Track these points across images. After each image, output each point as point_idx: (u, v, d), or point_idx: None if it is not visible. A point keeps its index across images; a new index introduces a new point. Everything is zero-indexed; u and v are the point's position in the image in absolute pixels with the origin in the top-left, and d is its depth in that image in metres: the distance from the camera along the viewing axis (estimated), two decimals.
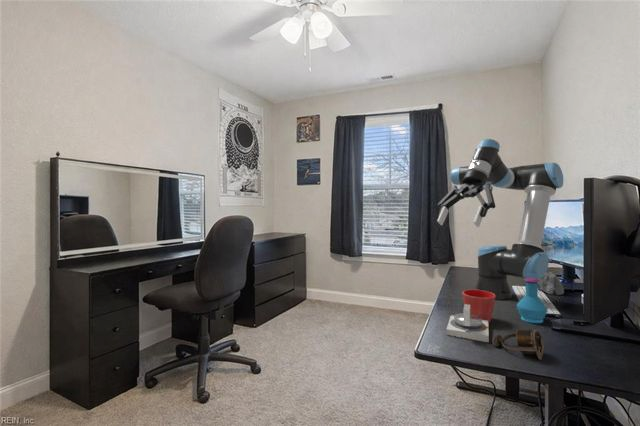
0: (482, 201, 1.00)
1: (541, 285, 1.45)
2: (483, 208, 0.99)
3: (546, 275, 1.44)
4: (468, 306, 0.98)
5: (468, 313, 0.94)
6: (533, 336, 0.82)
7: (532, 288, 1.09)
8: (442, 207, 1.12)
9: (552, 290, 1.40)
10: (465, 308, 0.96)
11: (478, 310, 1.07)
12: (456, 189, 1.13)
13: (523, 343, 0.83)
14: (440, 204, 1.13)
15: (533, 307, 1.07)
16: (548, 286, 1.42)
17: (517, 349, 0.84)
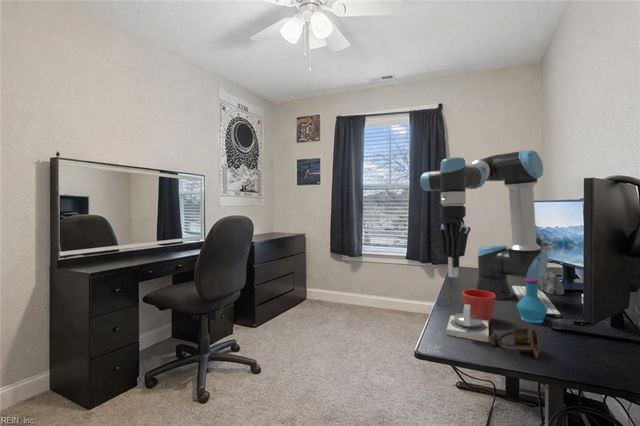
0: (453, 251, 0.98)
1: (541, 285, 1.45)
2: (454, 259, 0.98)
3: (546, 275, 1.44)
4: (468, 306, 0.98)
5: (468, 313, 0.94)
6: (530, 335, 0.83)
7: (532, 288, 1.09)
8: (448, 256, 1.01)
9: (552, 290, 1.40)
10: (465, 308, 0.96)
11: (478, 310, 1.07)
12: (442, 228, 1.03)
13: (520, 342, 0.84)
14: (445, 251, 1.02)
15: (533, 307, 1.07)
16: (548, 286, 1.42)
17: (514, 348, 0.85)
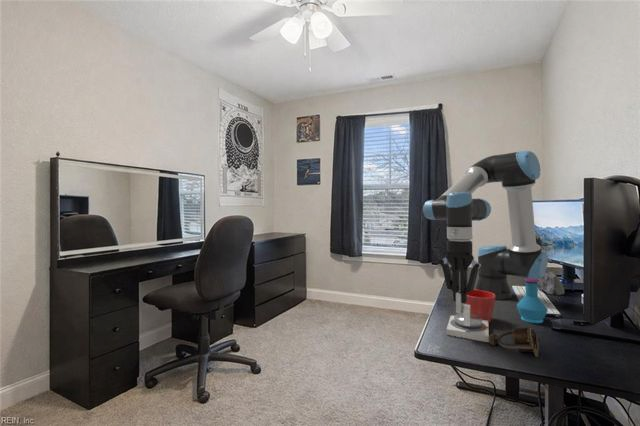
0: (462, 287, 0.96)
1: (541, 285, 1.45)
2: (462, 295, 0.97)
3: (547, 275, 1.44)
4: (468, 306, 0.98)
5: (468, 313, 0.94)
6: (530, 334, 0.84)
7: (532, 288, 1.09)
8: (454, 292, 0.99)
9: (552, 290, 1.40)
10: (465, 308, 0.96)
11: (478, 310, 1.07)
12: (445, 262, 1.01)
13: (520, 341, 0.85)
14: (450, 286, 0.99)
15: (533, 307, 1.07)
16: (548, 286, 1.42)
17: (514, 347, 0.85)
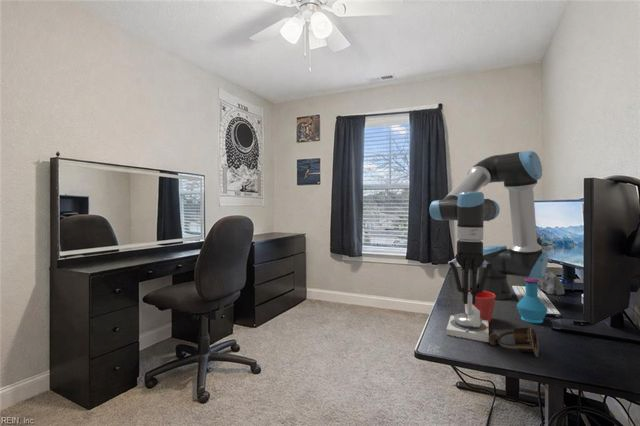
0: (474, 288, 0.95)
1: (541, 285, 1.45)
2: (473, 296, 0.95)
3: (547, 275, 1.44)
4: (473, 306, 0.97)
5: (478, 314, 0.93)
6: (530, 334, 0.84)
7: (532, 288, 1.09)
8: (465, 294, 0.96)
9: (552, 290, 1.40)
10: (473, 309, 0.95)
11: None
12: (456, 264, 0.96)
13: (520, 341, 0.85)
14: (462, 289, 0.96)
15: (533, 307, 1.07)
16: (548, 286, 1.42)
17: (515, 347, 0.85)
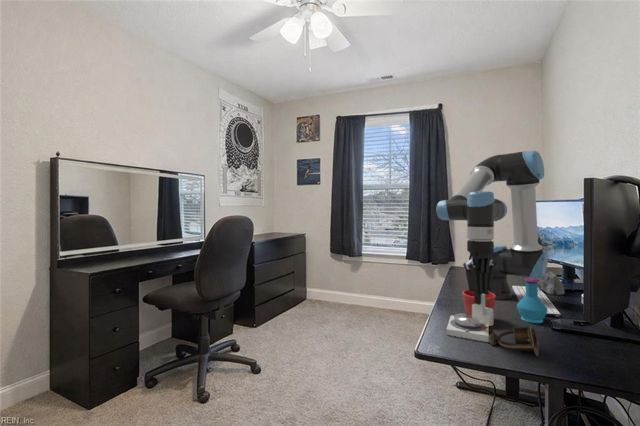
0: (486, 287, 0.96)
1: (542, 285, 1.45)
2: None
3: (547, 275, 1.44)
4: None
5: (492, 312, 0.95)
6: (530, 334, 0.84)
7: (532, 288, 1.09)
8: (479, 294, 0.95)
9: (553, 290, 1.40)
10: (486, 308, 0.96)
11: None
12: (473, 265, 0.94)
13: (521, 340, 0.85)
14: (478, 290, 0.94)
15: (533, 307, 1.07)
16: (548, 286, 1.42)
17: (515, 347, 0.85)
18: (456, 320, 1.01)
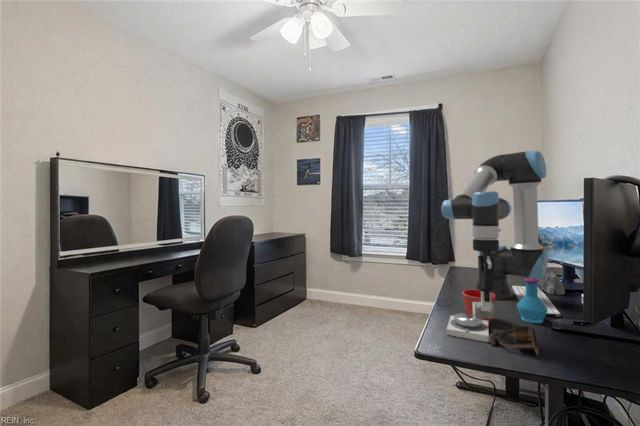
0: None
1: (542, 285, 1.45)
2: None
3: (547, 275, 1.44)
4: (479, 302, 1.02)
5: None
6: (531, 333, 0.85)
7: (532, 288, 1.09)
8: (489, 292, 0.97)
9: (553, 290, 1.40)
10: None
11: None
12: None
13: (521, 340, 0.85)
14: None
15: (533, 307, 1.07)
16: (548, 286, 1.42)
17: (516, 346, 0.85)
18: (468, 324, 0.98)
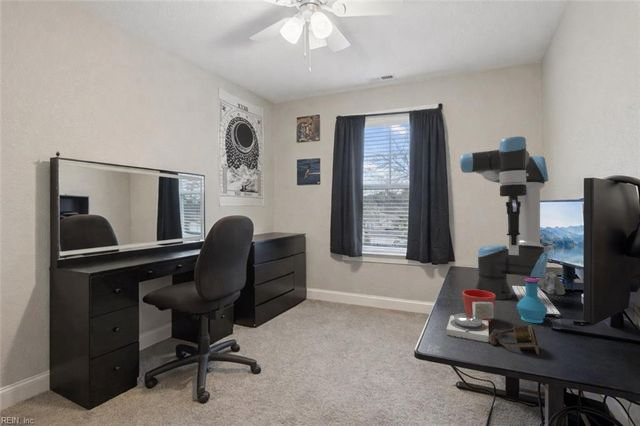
0: None
1: (542, 285, 1.45)
2: None
3: (547, 275, 1.44)
4: (479, 302, 1.02)
5: None
6: (531, 332, 0.85)
7: (532, 288, 1.09)
8: None
9: (553, 290, 1.40)
10: (488, 302, 1.01)
11: None
12: None
13: (522, 339, 0.86)
14: None
15: (533, 307, 1.07)
16: (549, 286, 1.42)
17: (517, 346, 0.86)
18: (468, 324, 0.98)
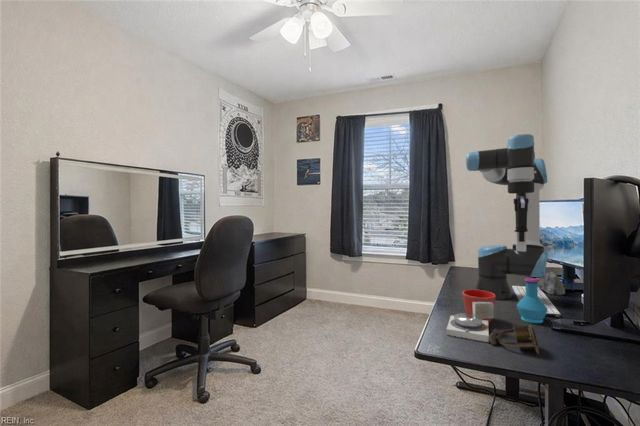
0: None
1: (542, 285, 1.45)
2: None
3: (547, 275, 1.44)
4: (479, 302, 1.02)
5: None
6: (531, 332, 0.85)
7: (532, 288, 1.09)
8: (524, 232, 1.01)
9: (553, 290, 1.40)
10: (488, 302, 1.01)
11: None
12: None
13: (522, 339, 0.86)
14: None
15: (533, 307, 1.07)
16: (549, 286, 1.42)
17: (517, 346, 0.86)
18: (468, 324, 0.98)
